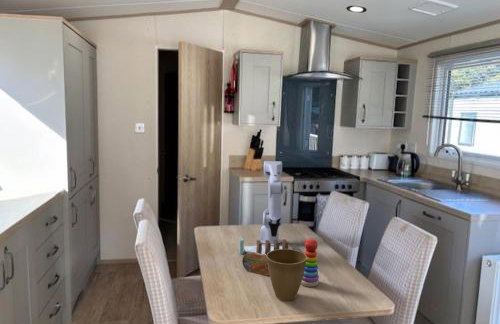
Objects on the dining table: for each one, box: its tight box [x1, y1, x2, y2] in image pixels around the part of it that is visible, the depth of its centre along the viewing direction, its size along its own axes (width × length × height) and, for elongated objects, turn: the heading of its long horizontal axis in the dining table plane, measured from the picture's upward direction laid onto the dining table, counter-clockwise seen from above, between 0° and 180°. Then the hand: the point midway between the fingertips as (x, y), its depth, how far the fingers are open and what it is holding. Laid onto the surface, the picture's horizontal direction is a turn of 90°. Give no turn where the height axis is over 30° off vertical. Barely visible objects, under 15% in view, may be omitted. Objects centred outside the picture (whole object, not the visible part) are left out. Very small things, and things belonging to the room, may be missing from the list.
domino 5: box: [281, 239, 289, 249], centre depth 184 cm, size 2×5×7 cm, turn 10°
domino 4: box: [273, 239, 281, 250], centre depth 183 cm, size 2×5×7 cm, turn 10°
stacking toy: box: [301, 238, 320, 288], centre depth 152 cm, size 8×8×19 cm
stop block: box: [291, 245, 303, 253], centre depth 185 cm, size 3×7×3 cm, turn 10°
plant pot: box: [267, 248, 307, 302], centre depth 141 cm, size 15×15×16 cm
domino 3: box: [264, 240, 272, 255], centre depth 182 cm, size 2×5×7 cm, turn 10°
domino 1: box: [238, 236, 245, 255], centre depth 185 cm, size 2×5×7 cm, turn 10°
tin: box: [241, 251, 270, 276], centre depth 162 cm, size 15×3×8 cm, turn 62°
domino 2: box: [255, 239, 263, 254], centre depth 181 cm, size 2×5×7 cm, turn 10°
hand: (274, 233), depth 184 cm, fingers open, 7 cm apart
